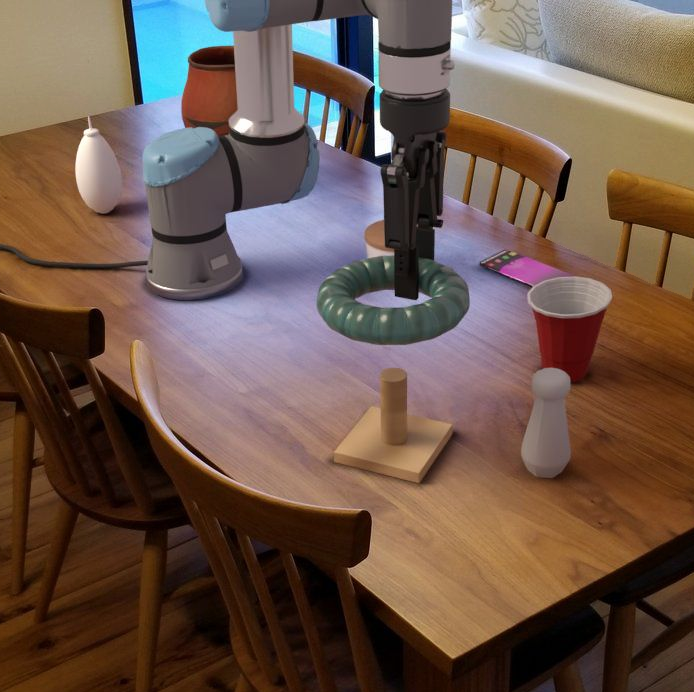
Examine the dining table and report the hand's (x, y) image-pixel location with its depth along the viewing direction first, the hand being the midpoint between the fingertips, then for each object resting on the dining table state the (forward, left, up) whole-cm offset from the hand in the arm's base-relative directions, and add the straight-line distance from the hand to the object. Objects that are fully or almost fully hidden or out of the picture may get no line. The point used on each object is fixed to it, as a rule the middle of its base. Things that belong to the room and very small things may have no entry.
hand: (414, 287), depth 126 cm
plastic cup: (+14, +19, -19) cm, 30 cm away
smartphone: (+1, +46, -19) cm, 49 cm away
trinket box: (-18, +38, -19) cm, 46 cm away
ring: (0, -6, +2) cm, 7 cm away
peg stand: (0, -6, -19) cm, 20 cm away
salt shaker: (+18, -3, -19) cm, 26 cm away
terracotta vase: (-62, +63, -19) cm, 90 cm away
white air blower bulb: (-79, +43, -19) cm, 92 cm away
